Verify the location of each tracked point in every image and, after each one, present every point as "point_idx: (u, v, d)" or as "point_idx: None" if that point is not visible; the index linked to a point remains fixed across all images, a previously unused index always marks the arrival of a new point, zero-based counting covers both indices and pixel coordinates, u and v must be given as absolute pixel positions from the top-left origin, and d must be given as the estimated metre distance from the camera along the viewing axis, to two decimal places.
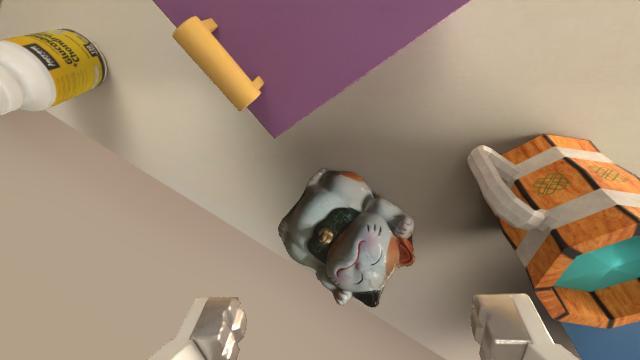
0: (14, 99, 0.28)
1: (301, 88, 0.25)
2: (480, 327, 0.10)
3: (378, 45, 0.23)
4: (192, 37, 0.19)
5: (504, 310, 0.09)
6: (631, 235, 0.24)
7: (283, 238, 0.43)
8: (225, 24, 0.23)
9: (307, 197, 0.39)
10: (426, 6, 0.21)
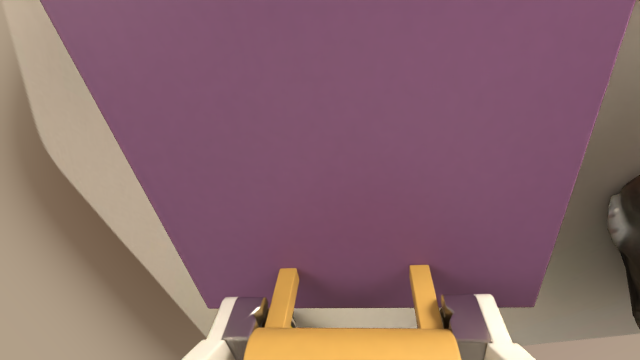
0: None
1: (496, 218, 0.10)
2: (446, 326, 0.10)
3: None
4: None
5: (468, 310, 0.09)
6: None
7: None
8: (300, 258, 0.12)
9: None
10: None
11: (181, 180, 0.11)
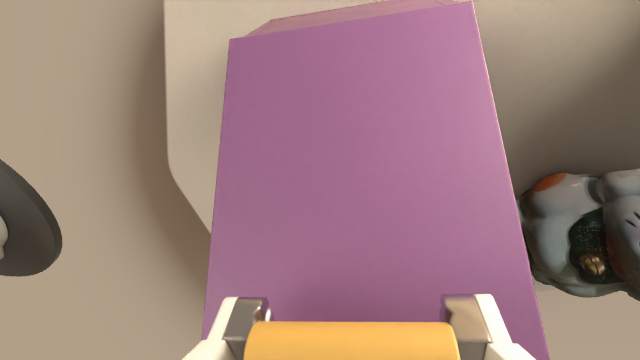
0: None
1: (476, 274, 0.13)
2: None
3: (472, 129, 0.15)
4: (273, 348, 0.09)
5: (468, 310, 0.09)
6: None
7: (552, 283, 0.36)
8: (311, 316, 0.13)
9: (529, 238, 0.34)
10: (455, 61, 0.16)
11: (242, 228, 0.15)
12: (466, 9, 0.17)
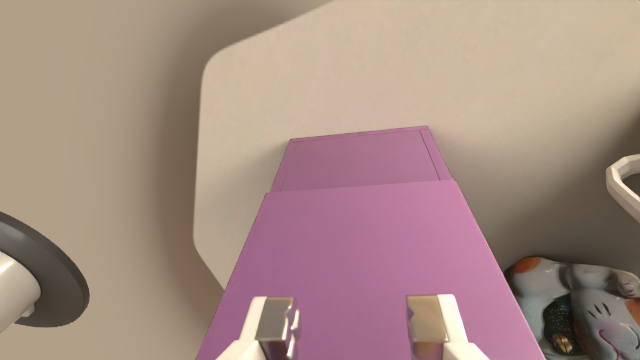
0: None
1: None
2: (410, 326, 0.10)
3: (469, 257, 0.16)
4: None
5: (428, 310, 0.10)
6: None
7: None
8: None
9: None
10: (447, 212, 0.19)
11: (239, 332, 0.14)
12: (451, 183, 0.22)
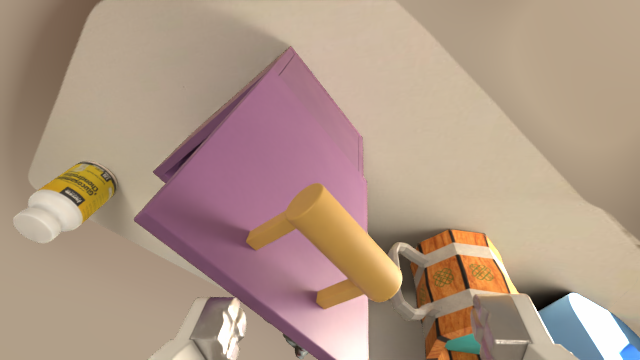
0: (55, 233, 0.39)
1: None
2: (480, 327, 0.10)
3: (359, 224, 0.25)
4: (335, 199, 0.13)
5: (504, 310, 0.09)
6: None
7: None
8: None
9: None
10: (358, 194, 0.28)
11: (242, 147, 0.17)
12: (365, 181, 0.31)
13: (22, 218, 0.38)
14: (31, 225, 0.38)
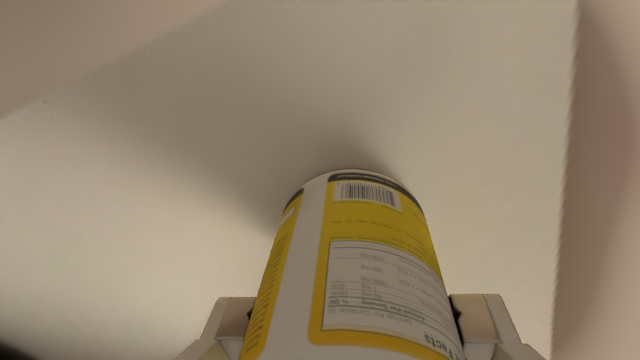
0: None
1: None
2: None
3: None
4: None
5: (476, 310, 0.09)
6: None
7: None
8: None
9: None
10: None
11: None
12: None
13: None
14: None
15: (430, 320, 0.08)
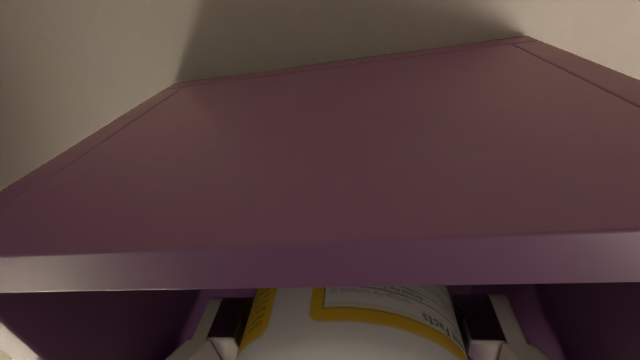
0: None
1: None
2: (459, 327, 0.10)
3: None
4: None
5: (481, 310, 0.09)
6: None
7: None
8: None
9: None
10: None
11: None
12: None
13: None
14: None
15: (427, 300, 0.08)
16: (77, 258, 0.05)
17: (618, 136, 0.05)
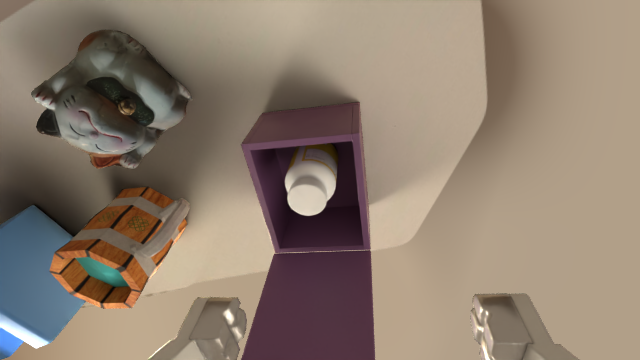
0: None
1: None
2: (480, 327, 0.10)
3: None
4: None
5: (504, 310, 0.09)
6: (132, 288, 0.46)
7: (116, 34, 0.37)
8: None
9: (168, 86, 0.40)
10: None
11: None
12: None
13: (320, 204, 0.38)
14: (310, 203, 0.38)
15: (325, 160, 0.40)
16: (270, 142, 0.37)
17: (343, 126, 0.37)
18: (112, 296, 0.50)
